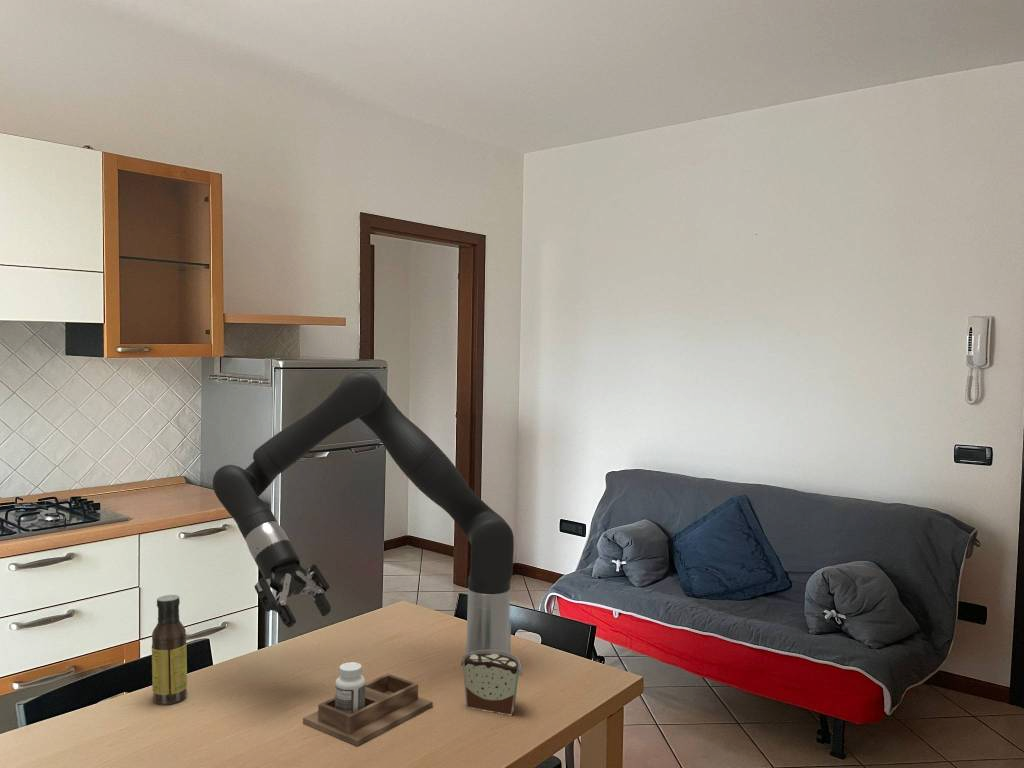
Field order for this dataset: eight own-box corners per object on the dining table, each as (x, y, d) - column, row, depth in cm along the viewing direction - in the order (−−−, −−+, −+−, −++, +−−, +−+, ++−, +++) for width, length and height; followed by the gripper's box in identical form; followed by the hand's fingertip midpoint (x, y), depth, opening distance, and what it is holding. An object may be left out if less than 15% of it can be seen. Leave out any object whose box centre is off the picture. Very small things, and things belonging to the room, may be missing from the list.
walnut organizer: (379, 687, 164) (380, 668, 163) (432, 706, 156) (433, 686, 156) (302, 723, 147) (303, 701, 147) (357, 746, 139) (357, 723, 139)
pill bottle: (355, 709, 151) (356, 658, 151) (370, 720, 147) (371, 667, 147) (329, 717, 148) (330, 664, 147) (343, 728, 144) (344, 674, 143)
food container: (529, 704, 158) (530, 654, 158) (519, 717, 152) (521, 665, 152) (471, 694, 162) (472, 645, 162) (459, 706, 156) (460, 655, 156)
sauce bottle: (187, 690, 160) (189, 591, 159) (186, 703, 154) (187, 600, 153) (152, 694, 158) (153, 593, 157) (149, 707, 152) (151, 603, 151)
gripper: (250, 545, 152) (290, 618, 146) (309, 532, 164) (347, 599, 158) (232, 568, 155) (270, 640, 149) (291, 554, 167) (328, 620, 161)
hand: (310, 619), depth 153 cm, fingers open, 8 cm apart
